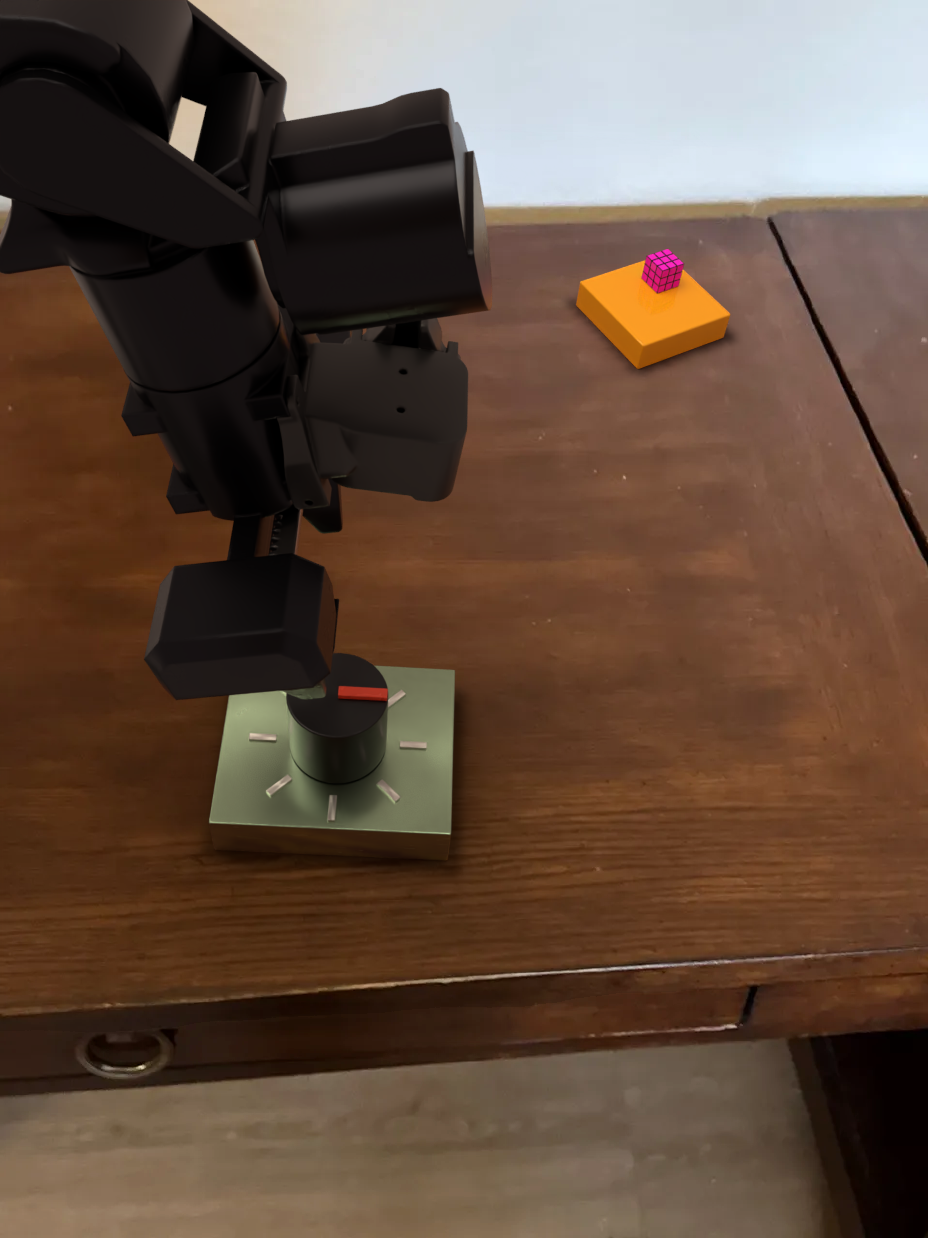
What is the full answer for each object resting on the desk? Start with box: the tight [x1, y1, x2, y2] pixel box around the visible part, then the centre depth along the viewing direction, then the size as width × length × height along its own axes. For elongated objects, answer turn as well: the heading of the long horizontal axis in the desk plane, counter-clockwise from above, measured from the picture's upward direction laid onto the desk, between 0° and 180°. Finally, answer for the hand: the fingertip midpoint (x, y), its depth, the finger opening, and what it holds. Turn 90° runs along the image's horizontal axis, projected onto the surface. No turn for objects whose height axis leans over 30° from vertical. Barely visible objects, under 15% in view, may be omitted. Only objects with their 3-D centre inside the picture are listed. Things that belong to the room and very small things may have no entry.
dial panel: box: [208, 664, 456, 862], centre depth 64 cm, size 12×10×3 cm
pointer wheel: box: [286, 652, 388, 783], centre depth 61 cm, size 5×5×5 cm
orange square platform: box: [575, 248, 731, 370], centre depth 89 cm, size 8×8×4 cm
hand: (323, 608), depth 54 cm, fingers open, 9 cm apart
